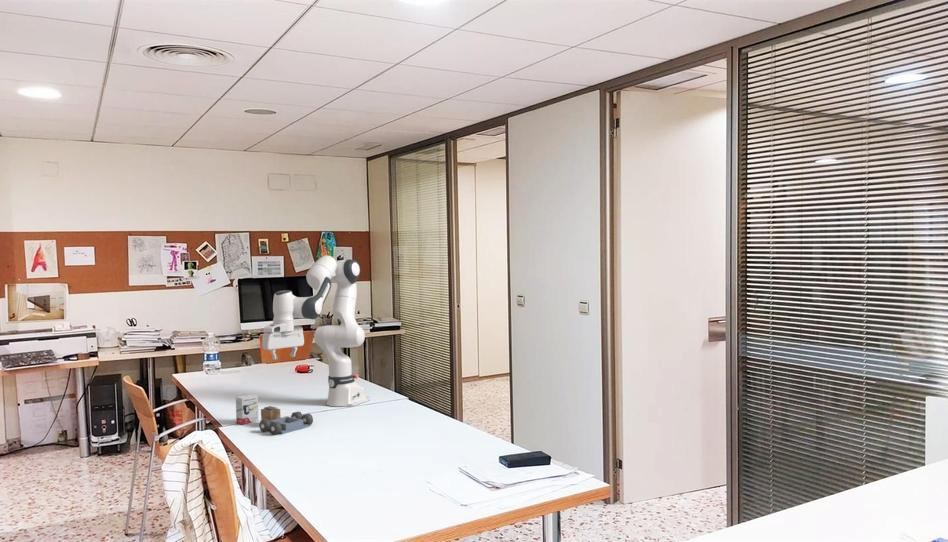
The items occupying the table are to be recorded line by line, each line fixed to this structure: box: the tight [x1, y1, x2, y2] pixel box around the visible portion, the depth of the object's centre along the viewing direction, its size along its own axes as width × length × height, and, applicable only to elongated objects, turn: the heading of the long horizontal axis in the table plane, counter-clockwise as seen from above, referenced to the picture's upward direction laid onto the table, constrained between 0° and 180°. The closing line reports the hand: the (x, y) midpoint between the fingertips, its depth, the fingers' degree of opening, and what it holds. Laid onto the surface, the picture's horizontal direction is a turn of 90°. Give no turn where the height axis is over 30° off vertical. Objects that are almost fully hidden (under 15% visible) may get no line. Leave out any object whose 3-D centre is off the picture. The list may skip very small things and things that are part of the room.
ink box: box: [235, 393, 259, 426], centre depth 303 cm, size 9×5×12 cm, turn 143°
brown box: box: [260, 405, 282, 421], centre depth 298 cm, size 5×7×8 cm
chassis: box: [259, 410, 314, 436], centre depth 291 cm, size 19×12×5 cm, turn 143°
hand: (284, 358), depth 300 cm, fingers open, 8 cm apart
